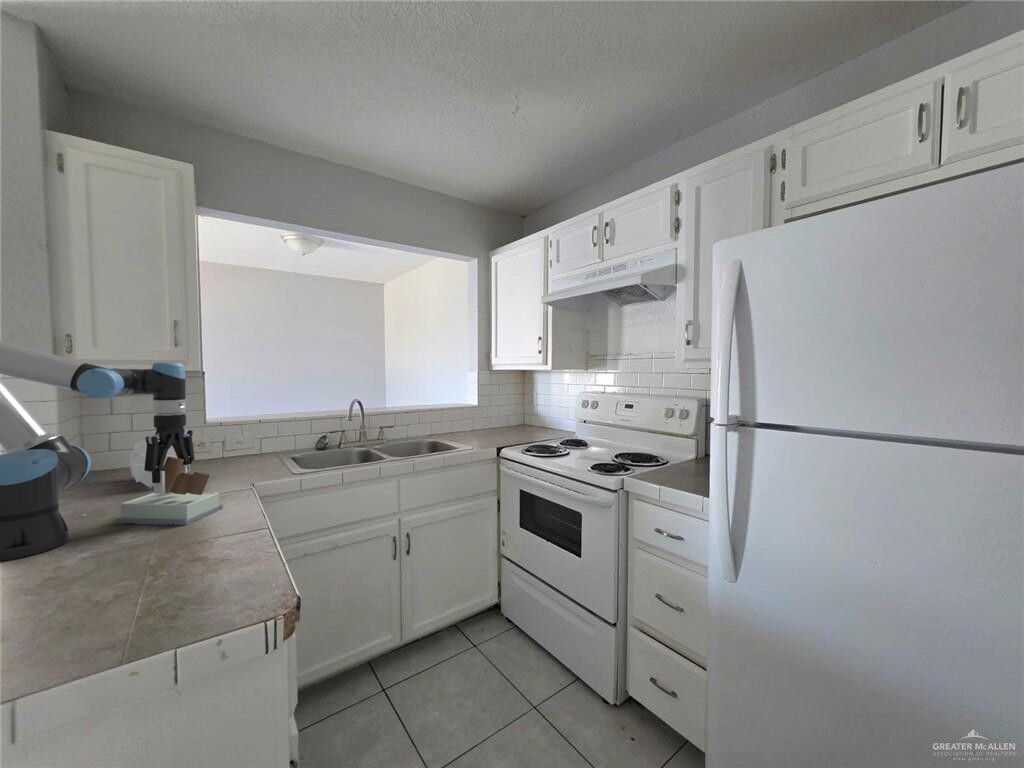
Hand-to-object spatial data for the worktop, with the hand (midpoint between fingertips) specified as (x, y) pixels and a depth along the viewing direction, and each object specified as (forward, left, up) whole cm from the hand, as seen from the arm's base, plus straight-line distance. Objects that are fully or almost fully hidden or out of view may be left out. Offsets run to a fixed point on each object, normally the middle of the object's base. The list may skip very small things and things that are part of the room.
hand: (171, 489), depth 124 cm
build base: (0, 0, -8) cm, 8 cm away
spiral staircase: (+34, +36, -8) cm, 50 cm away
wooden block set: (0, -2, -1) cm, 2 cm away
